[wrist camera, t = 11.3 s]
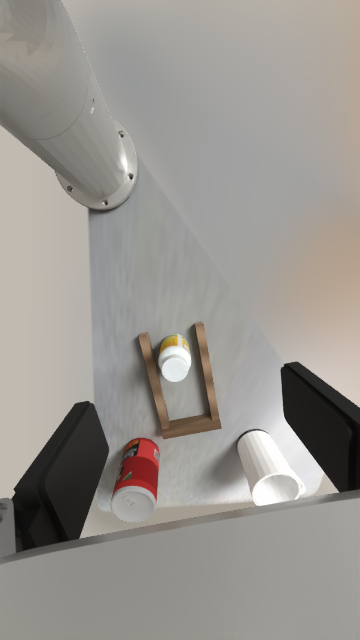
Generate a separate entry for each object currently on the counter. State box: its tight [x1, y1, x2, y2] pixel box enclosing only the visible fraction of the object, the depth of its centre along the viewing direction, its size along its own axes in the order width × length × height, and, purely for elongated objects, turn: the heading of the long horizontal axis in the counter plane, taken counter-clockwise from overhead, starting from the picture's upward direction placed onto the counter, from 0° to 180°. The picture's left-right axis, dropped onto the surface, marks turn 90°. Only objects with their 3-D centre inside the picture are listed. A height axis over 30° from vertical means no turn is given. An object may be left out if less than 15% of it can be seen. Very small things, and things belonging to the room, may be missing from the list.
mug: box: [237, 429, 305, 506], centre depth 41 cm, size 11×9×10 cm
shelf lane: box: [139, 322, 222, 439], centre depth 40 cm, size 22×12×3 cm, turn 11°
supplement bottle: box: [159, 334, 191, 382], centre depth 35 cm, size 5×5×10 cm
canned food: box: [111, 438, 160, 523], centre depth 40 cm, size 8×8×11 cm
